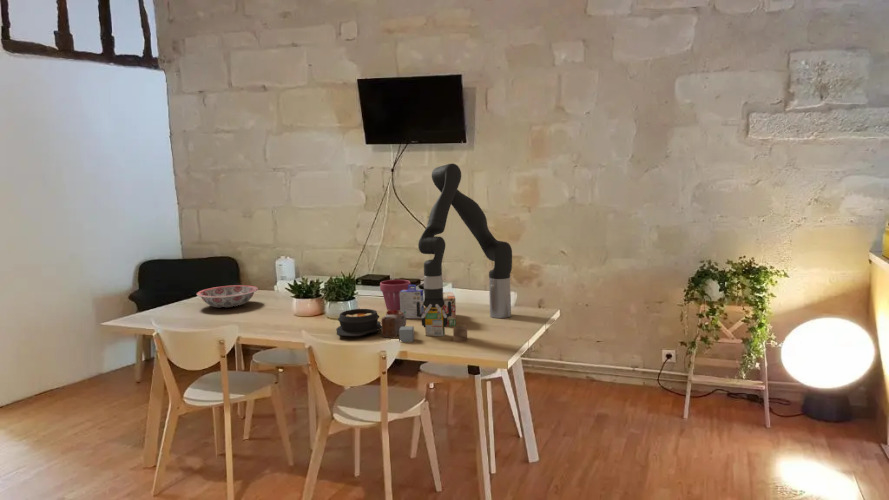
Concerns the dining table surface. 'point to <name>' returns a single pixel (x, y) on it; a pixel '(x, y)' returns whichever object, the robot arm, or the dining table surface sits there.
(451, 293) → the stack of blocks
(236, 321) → the dining table surface
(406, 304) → the ink cartridge box
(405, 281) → the plant pot
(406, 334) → the slate-grey block
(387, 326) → the food item
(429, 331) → the crayon box
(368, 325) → the casserole
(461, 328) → the walnut block
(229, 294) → the ceramic bowl
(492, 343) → the dining table surface
